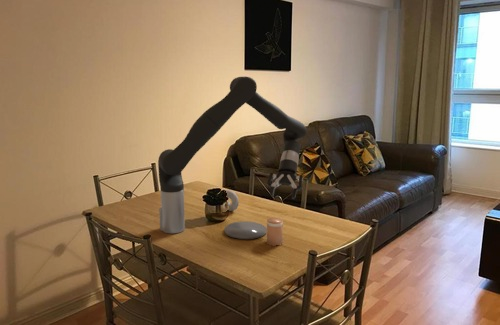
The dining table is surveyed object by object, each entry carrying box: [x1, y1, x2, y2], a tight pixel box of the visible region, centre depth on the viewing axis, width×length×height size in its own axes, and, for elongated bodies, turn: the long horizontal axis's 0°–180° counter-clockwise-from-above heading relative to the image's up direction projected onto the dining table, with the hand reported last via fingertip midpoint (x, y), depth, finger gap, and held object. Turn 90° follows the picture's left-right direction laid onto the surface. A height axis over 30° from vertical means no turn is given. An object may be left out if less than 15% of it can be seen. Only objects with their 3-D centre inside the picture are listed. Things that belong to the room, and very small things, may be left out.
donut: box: [225, 189, 240, 212], centre depth 195 cm, size 10×4×10 cm, turn 50°
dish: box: [224, 220, 267, 240], centre depth 171 cm, size 17×17×1 cm
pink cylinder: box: [266, 217, 284, 247], centre depth 159 cm, size 6×6×9 cm
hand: (282, 197), depth 168 cm, fingers open, 8 cm apart
